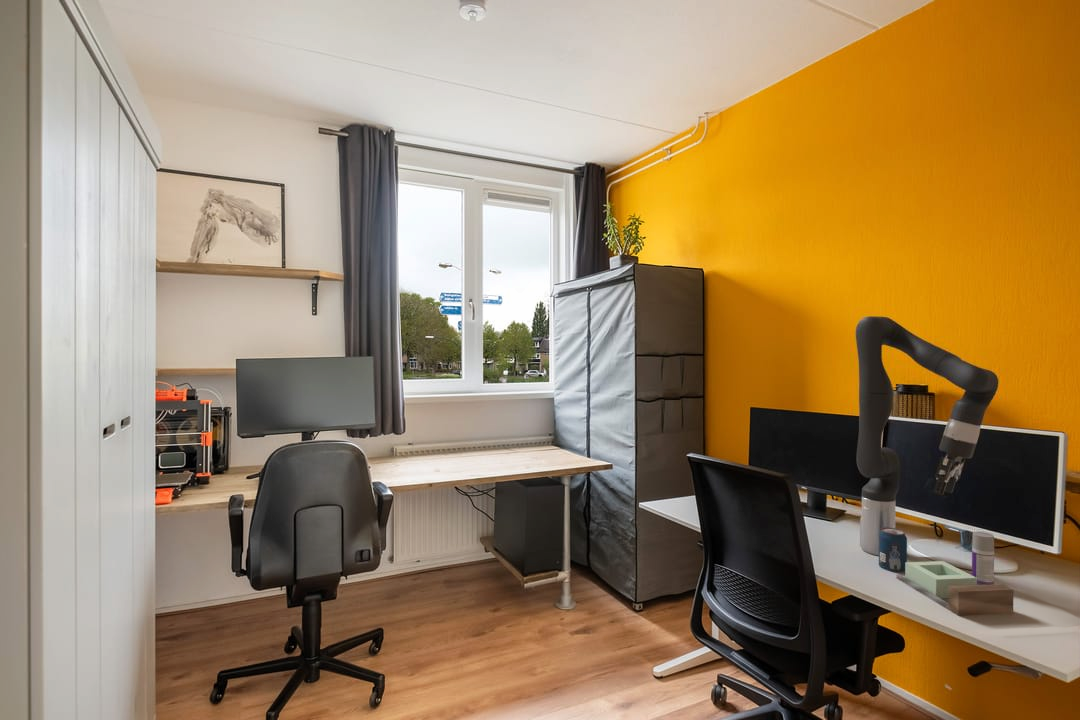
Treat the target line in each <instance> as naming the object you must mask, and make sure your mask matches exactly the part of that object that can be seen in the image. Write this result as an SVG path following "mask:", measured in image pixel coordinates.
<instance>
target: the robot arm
mask: <svg viewBox="0 0 1080 720" xmlns="http://www.w3.org/2000/svg"><path fill="white" fill-rule="evenodd" d="M855 340H856V341H855V342H856V350H857V359H858V405H859V406H858V408H859V409H858V410H859V411H858V412H859V413H858V415H859V416H858V418H859V419H858V439H857V446H856V447H857V448H856V459H855V460H856V465H857V468H858V469H857V470H858V471H859V473H860V474H861V475H862V476H863V477H864V478H868V479H870V480H869V481H868V482H867V483H866V484H865V485H864V486H863V487H862V488H861V517H860V518H859V546H860V547H861V550H862V551H864V552H866V553H868V554H871V555H875V556H879V534H880V532H881V531H882V530H881V529H882V528H887V527H888V528H896V501H897V500H896V496H897V493H898V491H899V488H900V477H901V476H900V475H901V464H900V458H899V457H898V455H897V453H896V451H894V450H893V449H892V448H889V447H886V446H885V447H882V436H883V431H884V429H885V427H886V425H887V422H888V421H889V419H890V416H891V413H892V411H893V405H894V404H893V403H894V399H893V398H894V395H893V394H894V390H893V384H892V382H891V379H890V376H889V375H888V372H887V370H886V368H885V366H884V362H883V355H882V354H883V353H882V352H883V350H882V349H883V346H887V347H890V348H894V349H896V350H898V351H901V352H902V353H904V354H906V356H909V357H910V358H911V359H912V360H913V361H914V362H915V363H916V364H918V366H921V367H922V368H924V369H926V370H928V371H930V372H932V373H934V374H935V375H937V376H939V377H942V378H944V379H946V380H947V381H948V382H950V383H951V384H953V385H954V386H957V387H958V388H959V389H962V390H963V391H964V393H963V394H962V396H961V398H960V399H958V400H956V401H955V402H954V404H953V406H952V409H951V413H950V416H949V419H948V421H947V423H946V426H945V428H944V431H943V435H942V438H941V440H940V443H939V447H938V448H939V449H938V450H940V451H942V452H943V453H946V455H945V457H944V456H941V457H940V460H939V463H938V466H937V469H936V472H935V474H934V478H935V479H936V482H935V484H934V488H933V493H934V494H936V495H939V496H943V495H944V493H947V494H952V493H953V491H954V488H955V484H956V483H957V481H958V480H959V479H960V478H961V474H962V472H963V468H964V465H965V462H966V459H971V458H973V455H974V453H975V449H976V446H977V443H978V439H979V436H980V432H981V426H982V423H983V420H984V417H985V413H986V411H987V409H988V407H989V406H990V404H991V402H992V400H993V399H994V397H995V395H996V393H997V390H998V388H999V378H998V376H997V374H996V373H995V372H994V371H993V370H990V369H988V368H987V369H986V368H982V367H979V366H977V365H975V364H973V363H969V362H968V361H966V360H963V359H962V358H961V357H959V356H957V355H956V354H954V353H952V352H950V351H948V350H946V349H944V348H941V347H940V346H937V345H935V344H933V343H931V342H929V341H927V340H925V339H923V338H921V337H919V336H918V335H916V334H914V333H913V332H911V331H910V330H908V329H906V328H905V327H903V326H902V325H901V324H899V323H898V322H897V321H895V320H893V319H892V318H889V317H888V316H874V315H873V316H871V315H870V316H864V317H863V318H861V319H860V320H859V321H858V323H857V325H856V328H855Z"/></svg>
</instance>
